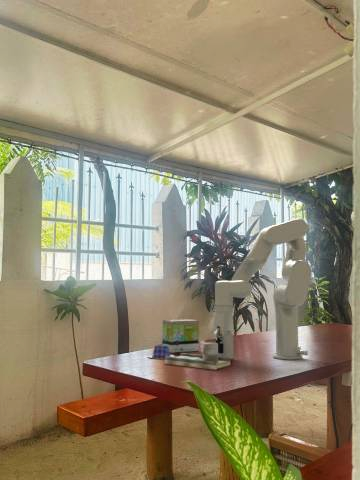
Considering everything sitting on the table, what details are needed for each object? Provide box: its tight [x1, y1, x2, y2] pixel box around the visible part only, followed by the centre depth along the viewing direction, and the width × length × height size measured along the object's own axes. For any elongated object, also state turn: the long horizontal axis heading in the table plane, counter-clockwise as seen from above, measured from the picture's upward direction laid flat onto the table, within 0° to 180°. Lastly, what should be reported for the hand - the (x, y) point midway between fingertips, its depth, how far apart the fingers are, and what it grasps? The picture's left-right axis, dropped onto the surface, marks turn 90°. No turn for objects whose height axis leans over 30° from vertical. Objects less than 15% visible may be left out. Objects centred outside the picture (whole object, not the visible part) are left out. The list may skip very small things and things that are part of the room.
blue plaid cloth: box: [147, 344, 176, 360], centre depth 195 cm, size 12×12×5 cm
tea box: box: [161, 318, 200, 354], centre depth 215 cm, size 15×10×15 cm, turn 123°
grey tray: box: [164, 342, 231, 370], centre depth 177 cm, size 23×12×8 cm, turn 56°
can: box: [218, 331, 234, 361], centre depth 189 cm, size 8×8×12 cm
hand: (224, 351), depth 188 cm, fingers closed on can, 7 cm apart
